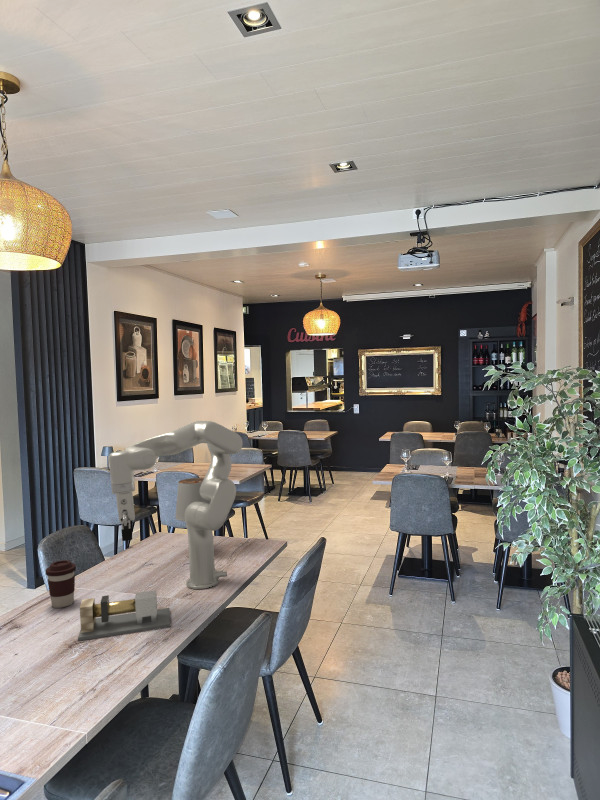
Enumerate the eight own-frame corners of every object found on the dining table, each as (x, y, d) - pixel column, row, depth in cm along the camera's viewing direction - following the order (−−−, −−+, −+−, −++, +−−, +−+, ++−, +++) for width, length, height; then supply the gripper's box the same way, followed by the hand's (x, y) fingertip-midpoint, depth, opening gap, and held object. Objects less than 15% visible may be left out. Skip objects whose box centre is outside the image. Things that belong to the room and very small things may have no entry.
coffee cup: (83, 600, 196) (81, 559, 195) (63, 611, 186) (61, 568, 186) (62, 597, 199) (59, 557, 199) (41, 608, 190) (38, 566, 189)
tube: (144, 609, 177) (143, 590, 177) (144, 616, 172) (143, 596, 172) (86, 618, 173) (85, 598, 173) (84, 625, 168) (83, 604, 168)
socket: (95, 622, 174) (94, 598, 174) (93, 631, 168) (92, 606, 168) (83, 623, 173) (82, 599, 173) (81, 632, 167) (79, 607, 167)
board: (169, 610, 183) (169, 607, 183) (170, 626, 171) (170, 623, 171) (83, 623, 176) (83, 620, 176) (78, 640, 164) (77, 637, 164)
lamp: (186, 548, 253) (182, 477, 252) (224, 548, 251) (221, 476, 249) (170, 561, 234) (167, 485, 233) (212, 562, 232) (209, 484, 231)
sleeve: (157, 613, 179) (156, 590, 179) (157, 621, 173) (156, 596, 173) (137, 616, 177) (135, 592, 177) (136, 624, 172) (135, 599, 171)
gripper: (134, 491, 177) (138, 541, 178) (135, 481, 193) (139, 527, 194) (110, 494, 175) (115, 545, 176) (113, 483, 191) (117, 530, 192)
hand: (127, 536), depth 185 cm, fingers open, 9 cm apart
